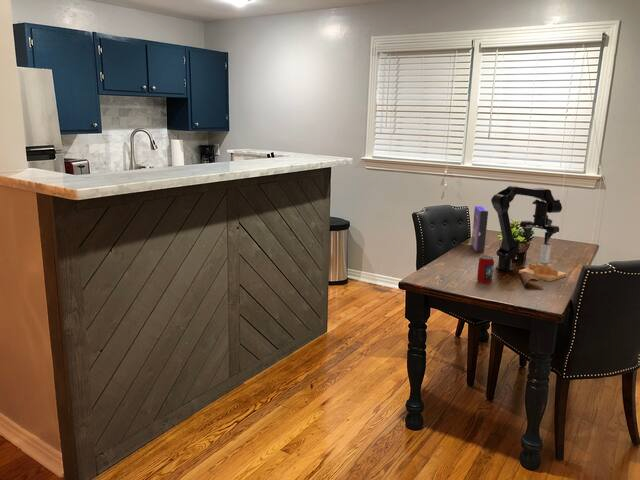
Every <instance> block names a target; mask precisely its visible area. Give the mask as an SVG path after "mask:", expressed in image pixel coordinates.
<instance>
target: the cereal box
mask: <svg viewBox="0 0 640 480" xmlns="http://www.w3.org/2000/svg"><path fill="white" fill-rule="evenodd" d="M473 210H474V211H473V212H474V213H473V222H472V231H471V241H470V242H471V247H472V246H473V247H472V248H473V250H474V249H475V250H474V251H484V252H485V249H486V248H485V246H486V245H485V244H486V237H487V228H488V218H489V211H488V209H486V207H484V206H481V205H480V206H479V205H475V206H474V209H473Z"/></svg>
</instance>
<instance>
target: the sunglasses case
mask: <svg viewBox="0 0 640 480" xmlns="http://www.w3.org/2000/svg"><path fill="white" fill-rule="evenodd" d="M520 280H521V281H522V284H523V286H524V288H525V289H526V290H538V291H544V287H543V285H542V283H541V282H540V279H538V278H536V277H535V276H533V275H532V274H530V273H527V272H523V273H521V274H520Z"/></svg>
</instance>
